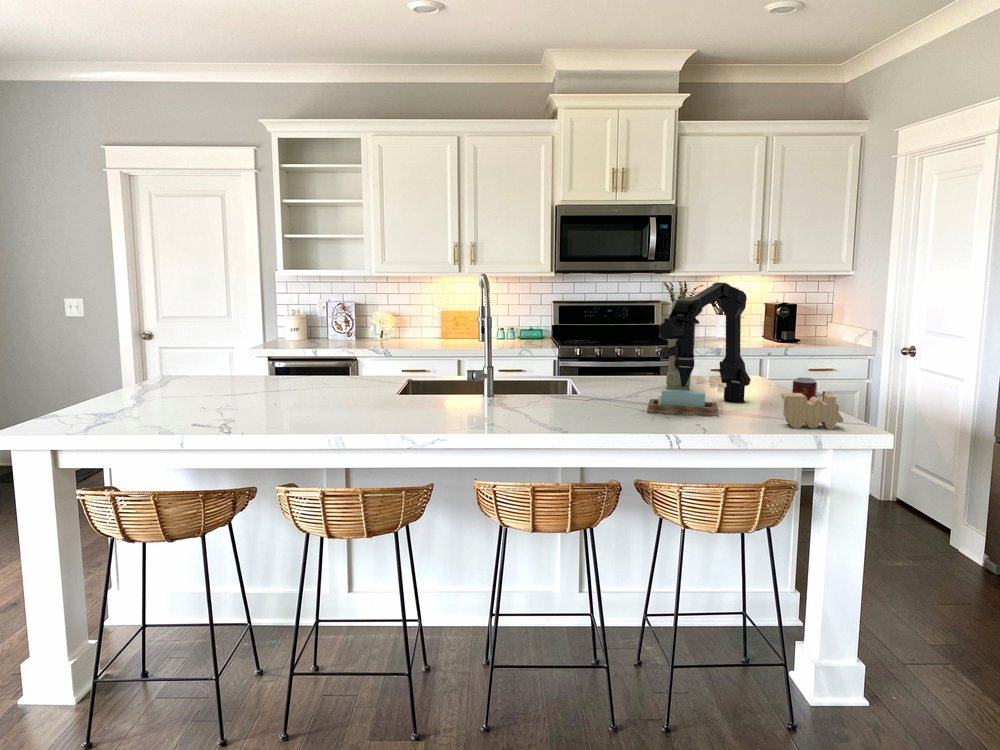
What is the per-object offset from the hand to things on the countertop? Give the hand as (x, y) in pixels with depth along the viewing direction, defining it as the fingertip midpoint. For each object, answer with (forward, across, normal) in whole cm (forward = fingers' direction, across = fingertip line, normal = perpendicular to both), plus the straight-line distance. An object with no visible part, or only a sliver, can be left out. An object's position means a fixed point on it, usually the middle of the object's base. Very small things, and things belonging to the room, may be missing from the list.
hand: (683, 384), depth 240 cm
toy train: (+9, +13, +38) cm, 41 cm away
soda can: (+9, -3, +38) cm, 39 cm away
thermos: (+9, -38, -2) cm, 39 cm away
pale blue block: (+8, 0, 0) cm, 8 cm away
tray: (+9, 0, 0) cm, 9 cm away
